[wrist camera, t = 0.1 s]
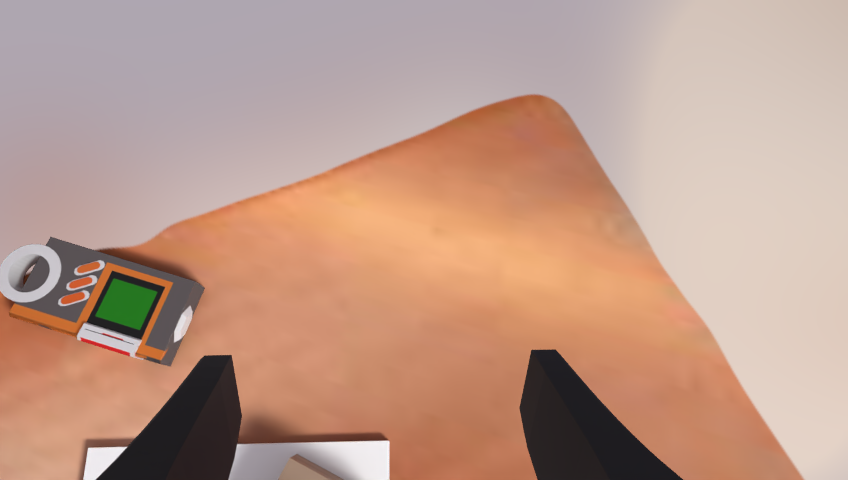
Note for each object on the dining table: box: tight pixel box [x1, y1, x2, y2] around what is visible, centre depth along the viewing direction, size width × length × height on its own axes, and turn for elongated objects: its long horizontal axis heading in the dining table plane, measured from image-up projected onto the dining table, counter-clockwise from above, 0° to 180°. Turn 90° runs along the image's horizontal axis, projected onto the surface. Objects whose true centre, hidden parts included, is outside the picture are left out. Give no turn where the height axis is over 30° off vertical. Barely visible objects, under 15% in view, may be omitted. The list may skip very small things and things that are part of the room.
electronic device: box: [0, 237, 205, 366], centre depth 43 cm, size 7×3×15 cm
